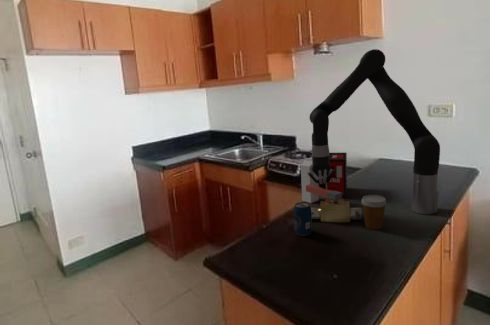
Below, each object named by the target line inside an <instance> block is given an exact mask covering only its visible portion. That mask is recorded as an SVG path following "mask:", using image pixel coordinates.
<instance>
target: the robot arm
mask: <svg viewBox="0 0 490 325" xmlns="http://www.w3.org/2000/svg"><path fill="white" fill-rule="evenodd" d="M385 64H386V56H385V53H384V52H383V51H382V50H380V49H376V48H375V49H374V48H373V49H370V50H368V51H366V52H365V53H364V54H363V55H362V57H361V58H360V60H359V62H358V64H357V66H356V67H355V69H354V70H353V71H352V72H351V73H350V74H349V75H348V76H347V77H346V78H345V79H344V80H343V81H342V82H340V83H339V84H338V85H337V86H336V88H334V90H333V91H332V92H331V93H330V94H329V95H328V96H327V97H326V98H325V99H324V100H323V101H322V102H320V103H319V104H318V105H317V106H315V107H314V108H313V109H312V110H311V112H310V114H309V121H310V122H311V124H312V134H311V157H312V158H311V159H312V163H313V167H312V170H311V171H310V172H308V173H307V174H308V175H309V176H310V177H311V178H312V179H313V180H314V181H315V182H316V183H318V187H320V188H324V189H327V188H326V186H327V182H329V181H330V180H331V178H332V177H333V175H334V174H335V173H336V171H335V170H333V169H331V167H330V160H329V153H330V146H329V135H328V132H329V126H330V117H329V116H330V115H331V114H333V113H334V112H336V111H337V110H339V109H340V108H341V107H342V106H343V105H344V104H345V103H346V102H347V101H348V100H349V99H350V98H351V97H352V95H353V94H354V93H355V91H356V90H358V88H359V87H361V85H362V84H363V83H364V82H365V81H366V80H369V82H370V84H372V86H373V87H374V88H375V90H376V92H377V93H378V95H379V96H378V97H380V99H381V100H382V103H383V104H384V105H385V107H386V108H387V110H388V112H389V113H390V115H391V116H392V117H393V119H394V120H395V121H396V122H397V123H398V124H399V125H400V126H401V128H402V129H403V130H404V131H405V132H406V134H407V136H408V138H409V139H410V141H411V143H412V146H413V149H414V152H413V153H414V156H413V167H412V168H413V171H412V173H413V174H412V192H411V193H412V195H411V198H412V199H411V210H412V212H414V213H416V214H421V215H432V214H438V209H439V208H438V206H439V204H438V203H439V191H438V190H437V189H438V178H439V176H438V175H439V168H440V167H439V166H440V156H441V144H440V142H439V140H438V139H437V137H435V135H433V133H431V131H430V130H429V129H428V128H427V126H426V125H425V124H424V123H423V121H422V119H421V117H420V114H419V113H418V112H419V111H417V108H416V106H415V104H414V103H413V101H412V99H411V98H410V97H409V94H408V93H406V91H405V90H404V89H403V87H401V86H400V85H399V84H398V83H397V82H395V81H394V80H393V79H392V77H390V75H389V74H388V72H387V70H386V69H385ZM313 172H314V173H315V174H316V176H317V178H318V180H316V179H315V178H314V176H313V175H314V174H313ZM328 173H329V175H328V176H327V174H328Z"/></svg>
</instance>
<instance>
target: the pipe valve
mask: <svg viewBox="0 0 490 325" xmlns="http://www.w3.org/2000/svg"><path fill="white" fill-rule="evenodd" d="M319 201H320V200H319ZM311 215H312V220H320V222H322V223H323V222H324V223H350V222H351V221H352V220H356V221H357V220H363V207H351V206H350V201H349V200H348V201H347V200H345V198H340V199H337V200H333V199H330V198H324V201H323V200H321V201H320V207H311Z"/></svg>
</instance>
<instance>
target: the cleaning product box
mask: <svg viewBox="0 0 490 325" xmlns="http://www.w3.org/2000/svg"><path fill="white" fill-rule="evenodd" d="M347 155H348V154H347V152H329V160H330V167H331V169H333V170H335V171H336V173H335V174H334V175H333V177H332V178H331V180H330V181H329V182H326V186H327V188H326V189H327V190H331V191H338V192H341V193H342V198H341V199H346V198H347V191H348V188H347V187H348V176H347V175H348V174H347V169H348V167H347V163H348V162H347V160H348V158H347ZM328 175H329V173H328V174H327V175H326V177H327V176H328Z"/></svg>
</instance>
